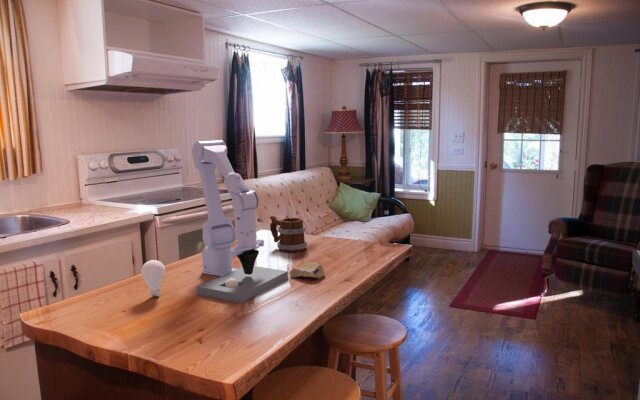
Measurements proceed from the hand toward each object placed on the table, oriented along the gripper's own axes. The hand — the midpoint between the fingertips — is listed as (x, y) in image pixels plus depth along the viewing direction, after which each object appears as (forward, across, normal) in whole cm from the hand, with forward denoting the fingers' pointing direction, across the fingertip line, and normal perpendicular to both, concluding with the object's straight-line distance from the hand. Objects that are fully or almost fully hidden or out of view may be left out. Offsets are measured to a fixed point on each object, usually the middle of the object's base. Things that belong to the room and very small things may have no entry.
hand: (248, 273), depth 157 cm
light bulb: (+4, -21, +18) cm, 28 cm away
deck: (+3, -2, 0) cm, 4 cm away
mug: (+4, +41, +12) cm, 43 cm away
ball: (+1, -8, 0) cm, 8 cm away
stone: (+4, +15, -12) cm, 20 cm away
